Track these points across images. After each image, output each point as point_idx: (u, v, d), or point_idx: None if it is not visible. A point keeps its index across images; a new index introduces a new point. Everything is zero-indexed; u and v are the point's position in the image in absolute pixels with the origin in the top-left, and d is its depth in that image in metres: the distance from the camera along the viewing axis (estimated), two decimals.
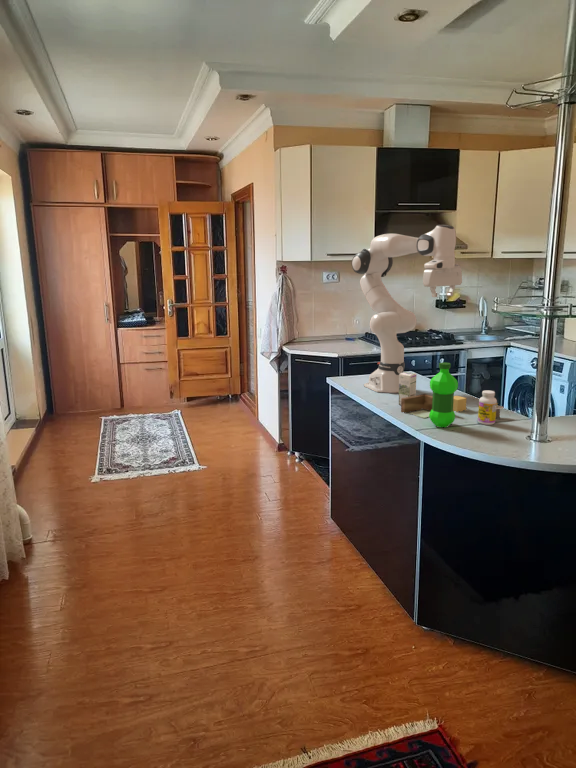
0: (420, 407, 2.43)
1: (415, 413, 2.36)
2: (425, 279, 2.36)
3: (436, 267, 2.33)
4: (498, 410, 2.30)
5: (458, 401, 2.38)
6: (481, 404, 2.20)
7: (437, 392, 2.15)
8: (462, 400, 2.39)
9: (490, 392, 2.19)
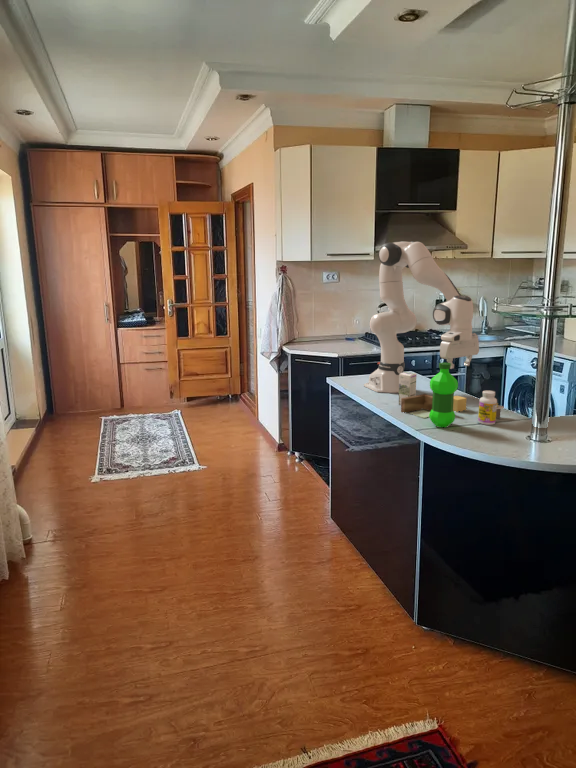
0: (420, 407, 2.43)
1: (415, 413, 2.36)
2: (442, 351, 2.32)
3: (453, 340, 2.29)
4: (499, 410, 2.30)
5: (458, 401, 2.38)
6: (481, 404, 2.20)
7: (437, 392, 2.15)
8: (462, 400, 2.39)
9: (490, 392, 2.20)
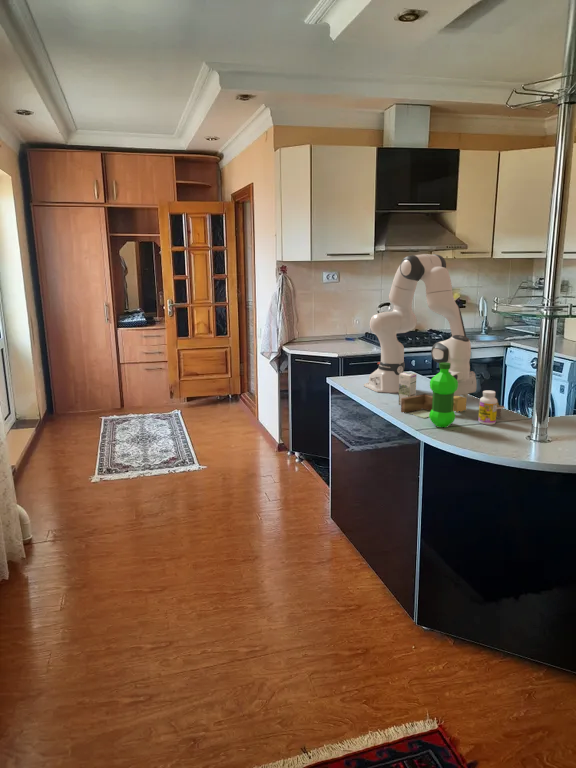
0: (420, 407, 2.43)
1: (415, 413, 2.36)
2: None
3: None
4: (499, 410, 2.30)
5: (458, 401, 2.38)
6: (482, 404, 2.20)
7: (437, 392, 2.15)
8: (462, 400, 2.39)
9: (491, 392, 2.20)
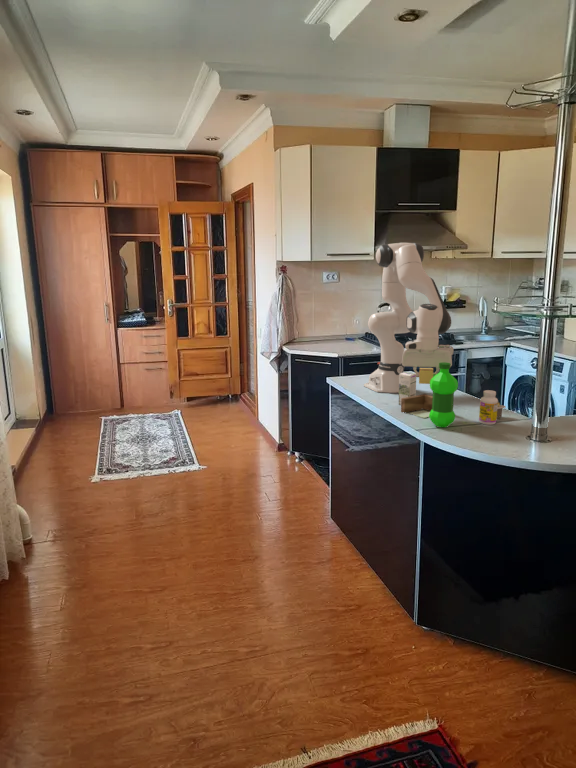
0: (420, 407, 2.43)
1: (415, 413, 2.36)
2: None
3: (408, 348, 2.28)
4: (500, 409, 2.30)
5: (420, 372, 2.30)
6: (482, 404, 2.21)
7: (437, 392, 2.15)
8: (426, 372, 2.29)
9: (491, 392, 2.20)
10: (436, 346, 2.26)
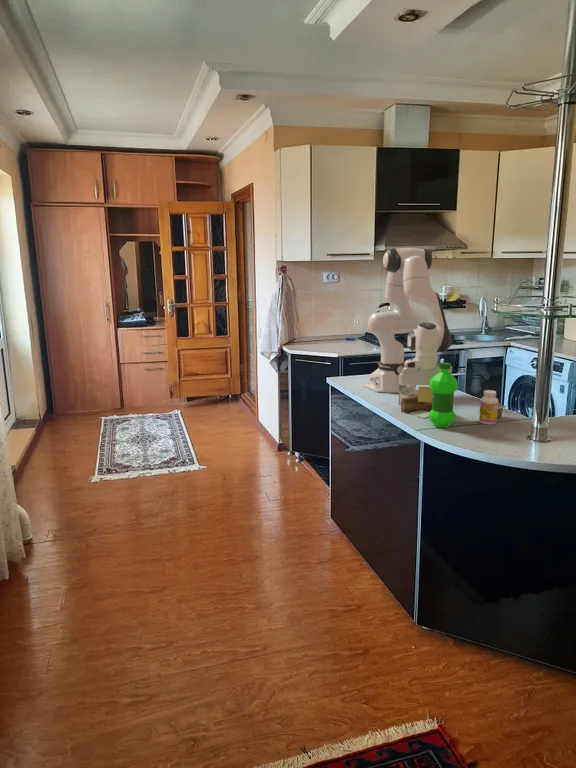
0: (420, 407, 2.43)
1: (415, 413, 2.36)
2: None
3: (407, 366, 2.30)
4: (501, 409, 2.31)
5: (419, 390, 2.31)
6: (482, 404, 2.21)
7: (437, 392, 2.15)
8: (425, 390, 2.31)
9: (491, 392, 2.20)
10: (435, 365, 2.28)
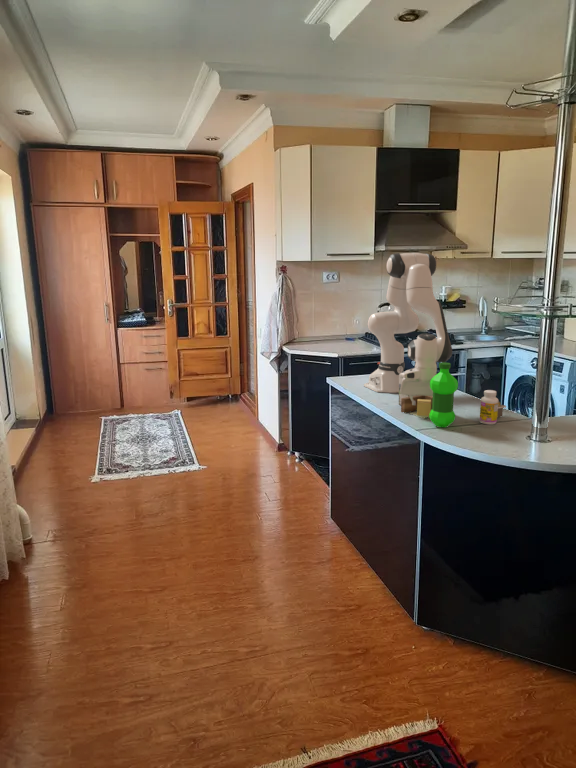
0: None
1: (415, 413, 2.36)
2: None
3: (406, 377, 2.31)
4: (501, 409, 2.31)
5: (418, 404, 2.33)
6: (483, 404, 2.21)
7: (437, 392, 2.15)
8: (424, 404, 2.32)
9: (492, 392, 2.20)
10: None
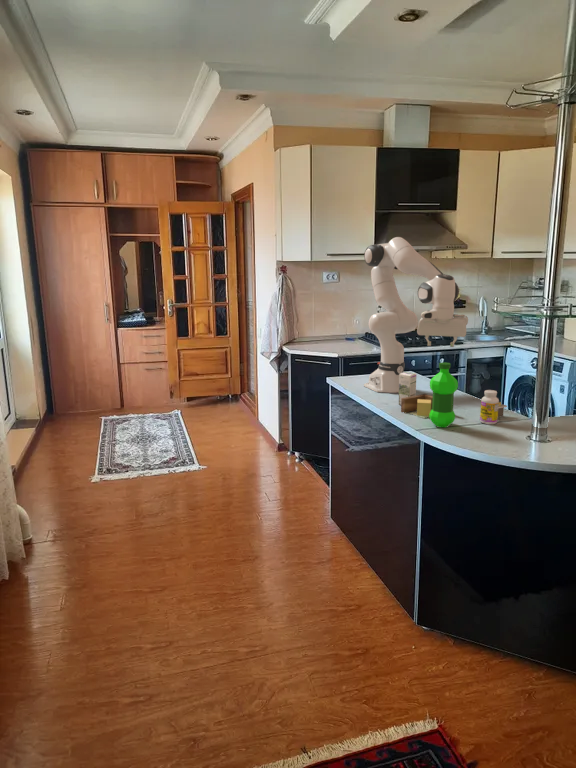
0: None
1: (415, 413, 2.36)
2: None
3: (423, 317, 2.35)
4: (502, 409, 2.31)
5: (418, 404, 2.33)
6: (483, 404, 2.21)
7: (437, 392, 2.15)
8: (424, 404, 2.32)
9: (492, 392, 2.20)
10: (451, 316, 2.32)
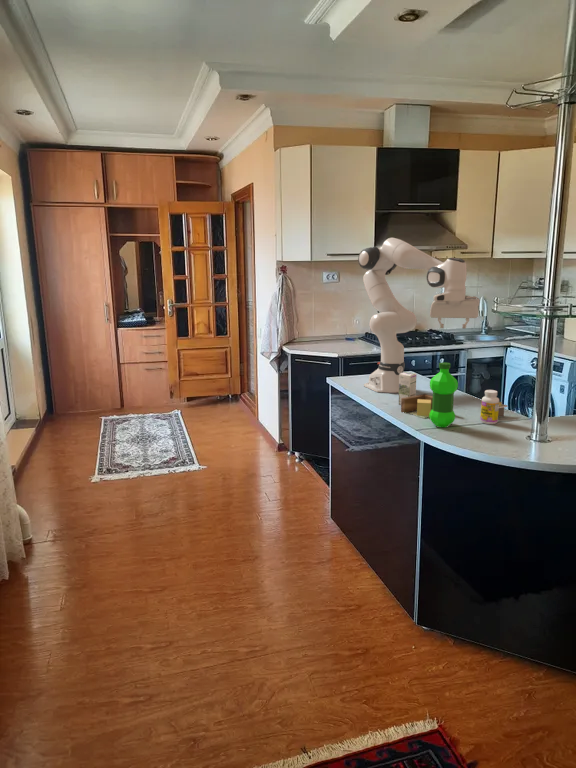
0: None
1: (415, 413, 2.36)
2: (430, 309, 2.46)
3: (436, 299, 2.40)
4: (502, 409, 2.32)
5: (418, 404, 2.33)
6: (484, 403, 2.21)
7: (437, 392, 2.15)
8: (424, 404, 2.32)
9: (493, 391, 2.20)
10: (463, 297, 2.38)
